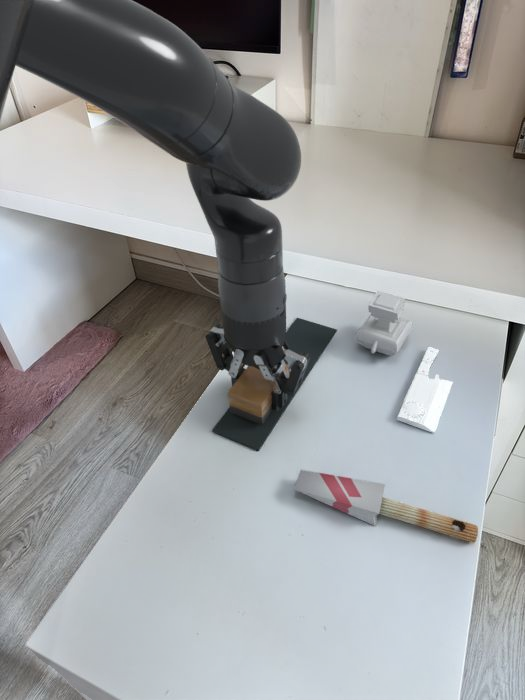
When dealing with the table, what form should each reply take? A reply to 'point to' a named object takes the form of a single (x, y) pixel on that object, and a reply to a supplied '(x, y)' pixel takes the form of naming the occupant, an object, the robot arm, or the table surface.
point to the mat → (253, 434)
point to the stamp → (384, 325)
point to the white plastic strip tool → (425, 396)
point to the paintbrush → (375, 503)
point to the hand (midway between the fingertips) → (260, 398)
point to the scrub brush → (252, 396)
